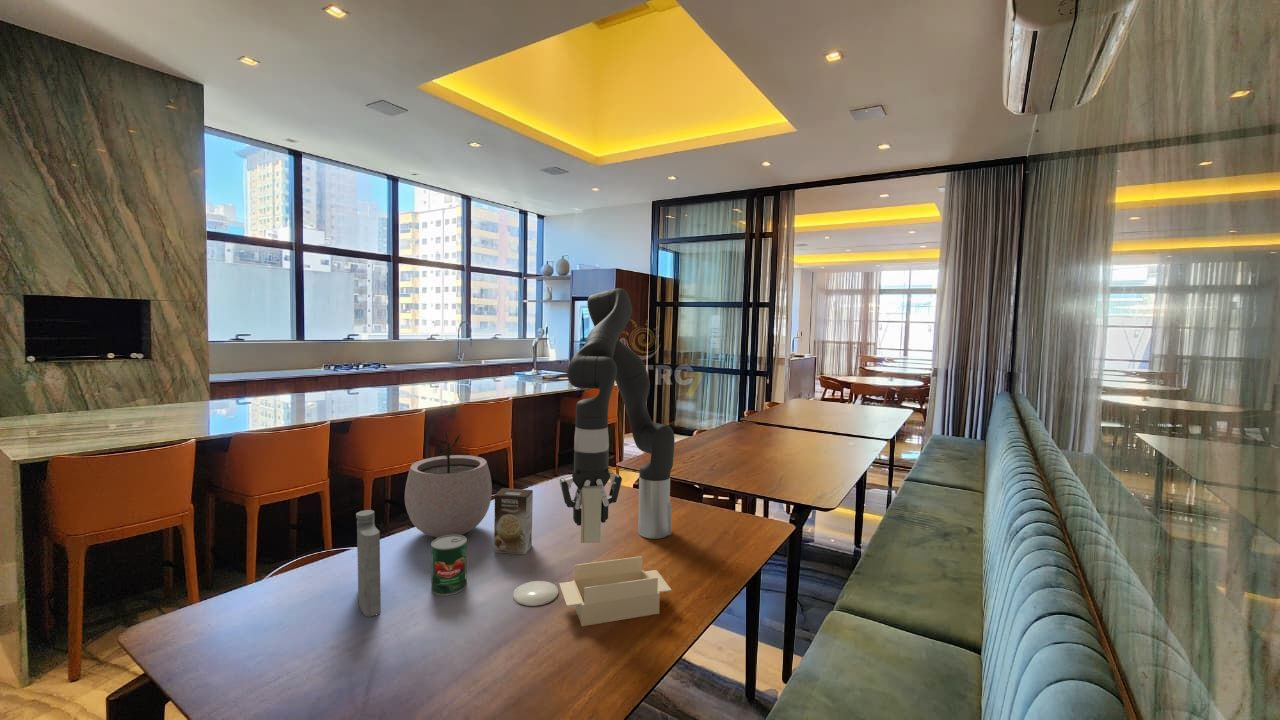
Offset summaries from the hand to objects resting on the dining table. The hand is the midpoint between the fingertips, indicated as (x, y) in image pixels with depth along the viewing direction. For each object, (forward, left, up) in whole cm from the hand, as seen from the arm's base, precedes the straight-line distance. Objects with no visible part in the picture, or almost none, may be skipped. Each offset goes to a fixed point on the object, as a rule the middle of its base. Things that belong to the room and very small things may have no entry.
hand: (590, 522), depth 115 cm
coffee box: (+14, -33, -19) cm, 40 cm away
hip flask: (+47, -15, -19) cm, 53 cm away
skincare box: (0, 0, -4) cm, 4 cm away
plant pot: (+31, -49, -19) cm, 61 cm away
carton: (-5, +3, -18) cm, 19 cm away
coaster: (+11, -7, -18) cm, 22 cm away
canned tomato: (+30, -16, -19) cm, 39 cm away
